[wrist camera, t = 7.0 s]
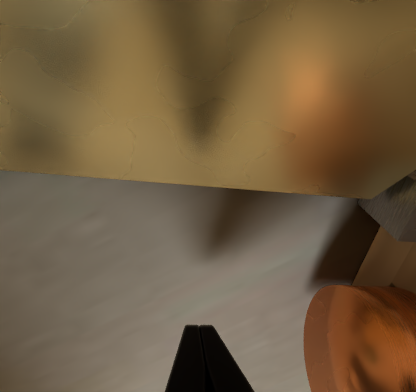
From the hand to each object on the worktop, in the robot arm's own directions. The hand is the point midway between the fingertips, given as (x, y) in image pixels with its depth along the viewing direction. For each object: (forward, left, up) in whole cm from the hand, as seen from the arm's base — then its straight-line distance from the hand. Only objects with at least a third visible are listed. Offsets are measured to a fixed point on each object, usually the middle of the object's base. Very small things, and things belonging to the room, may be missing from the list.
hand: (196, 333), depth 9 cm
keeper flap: (+9, 0, +1) cm, 10 cm away
